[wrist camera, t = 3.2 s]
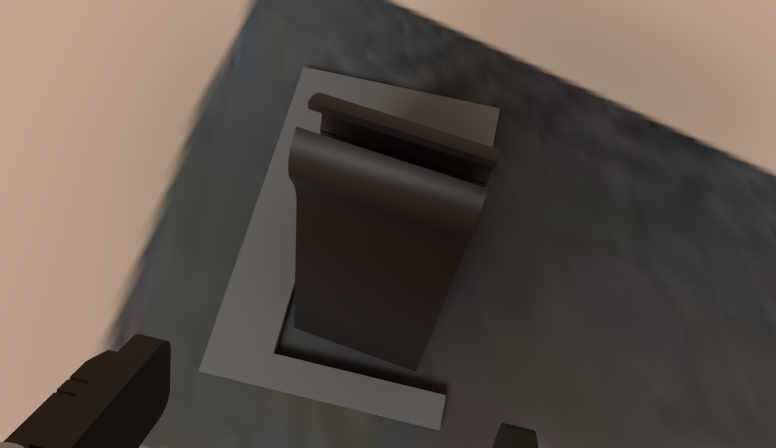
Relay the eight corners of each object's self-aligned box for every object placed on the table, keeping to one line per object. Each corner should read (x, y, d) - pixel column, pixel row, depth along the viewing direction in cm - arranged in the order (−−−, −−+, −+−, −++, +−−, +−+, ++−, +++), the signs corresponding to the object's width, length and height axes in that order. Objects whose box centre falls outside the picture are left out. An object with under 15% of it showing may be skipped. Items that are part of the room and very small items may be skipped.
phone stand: (361, 167, 30) (355, 1, 18) (470, 204, 29) (532, 55, 18) (294, 328, 27) (237, 246, 15) (414, 372, 26) (446, 321, 15)
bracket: (497, 113, 31) (500, 108, 31) (438, 430, 25) (439, 430, 25) (304, 72, 32) (303, 66, 31) (201, 372, 26) (198, 370, 25)
